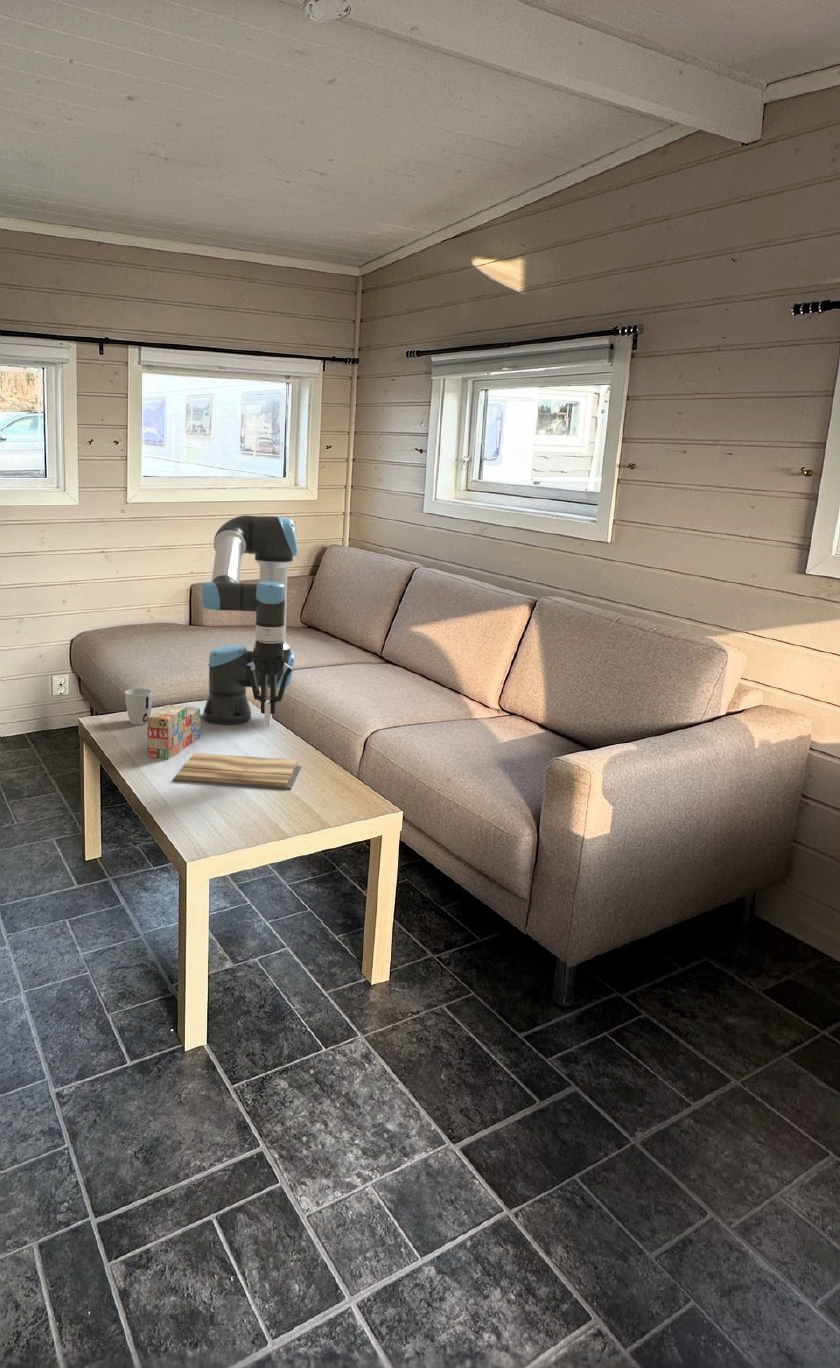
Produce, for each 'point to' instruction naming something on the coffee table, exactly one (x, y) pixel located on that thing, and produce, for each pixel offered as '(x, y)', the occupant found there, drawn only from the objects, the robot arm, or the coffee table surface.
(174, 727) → the stack of blocks
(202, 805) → the coffee table surface
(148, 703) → the cup
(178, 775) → the laid plank
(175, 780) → the underlay
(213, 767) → the board
